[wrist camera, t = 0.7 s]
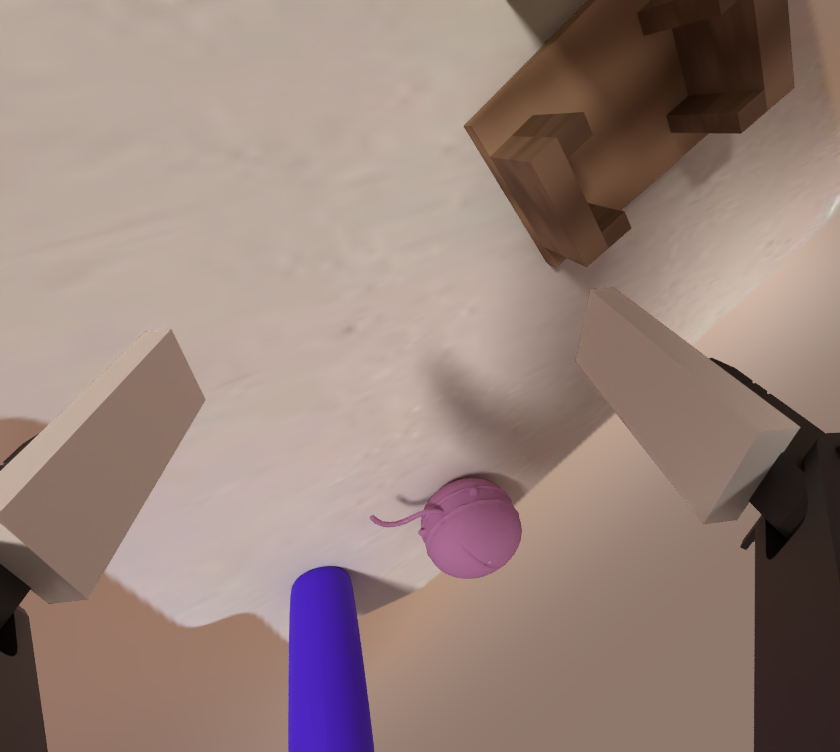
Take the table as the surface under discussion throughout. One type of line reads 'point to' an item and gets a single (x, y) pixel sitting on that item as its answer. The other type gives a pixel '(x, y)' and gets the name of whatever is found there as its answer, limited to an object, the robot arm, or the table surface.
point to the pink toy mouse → (468, 528)
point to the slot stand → (625, 109)
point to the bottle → (326, 667)
